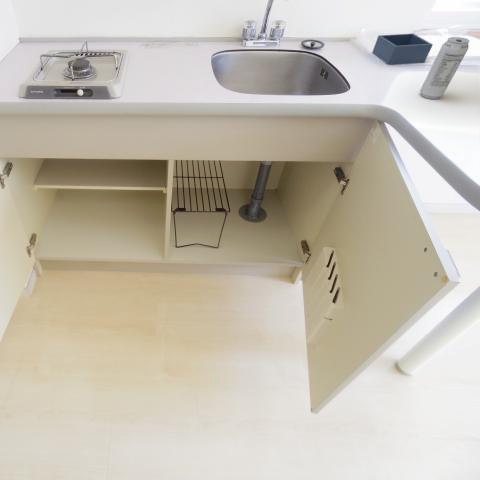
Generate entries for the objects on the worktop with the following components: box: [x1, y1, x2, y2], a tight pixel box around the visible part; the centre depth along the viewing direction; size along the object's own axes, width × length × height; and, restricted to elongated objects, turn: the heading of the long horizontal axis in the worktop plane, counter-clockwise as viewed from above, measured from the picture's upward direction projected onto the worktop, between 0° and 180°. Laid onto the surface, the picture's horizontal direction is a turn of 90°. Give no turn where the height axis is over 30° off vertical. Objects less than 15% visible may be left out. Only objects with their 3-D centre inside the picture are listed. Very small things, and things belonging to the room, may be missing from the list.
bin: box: [372, 33, 434, 65], centre depth 123 cm, size 13×13×6 cm
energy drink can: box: [419, 36, 470, 100], centre depth 98 cm, size 6×6×15 cm
